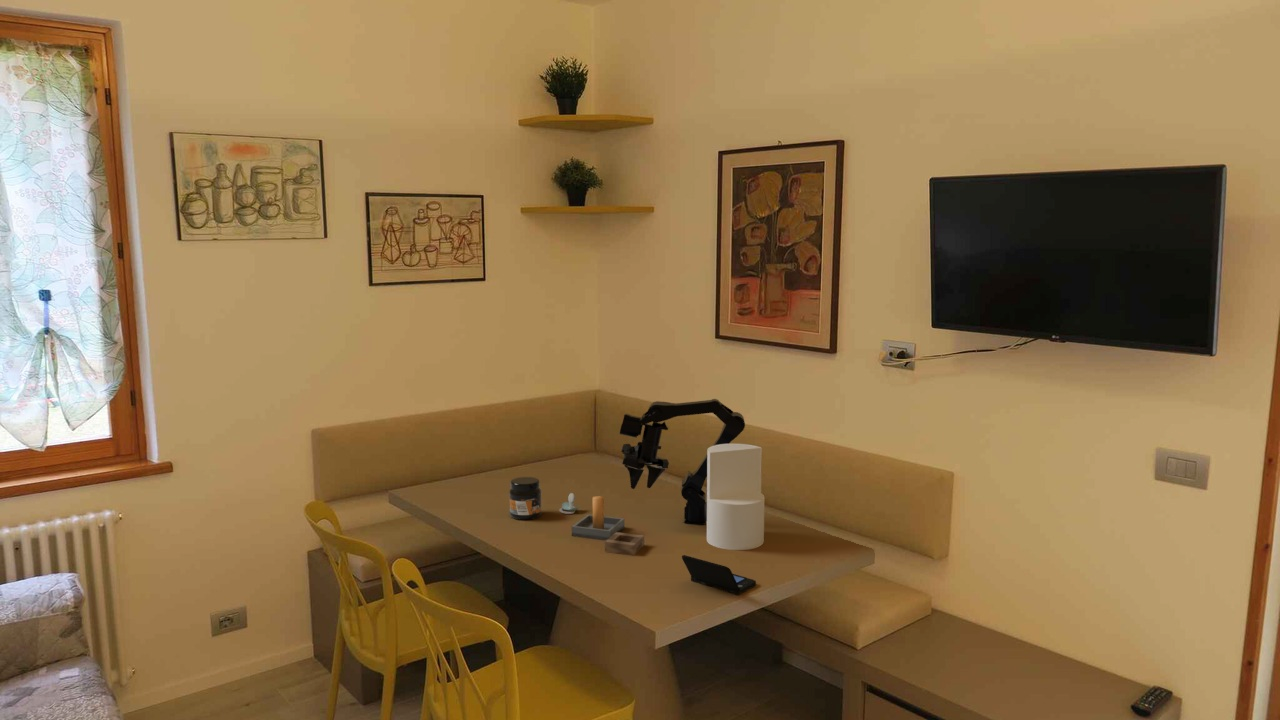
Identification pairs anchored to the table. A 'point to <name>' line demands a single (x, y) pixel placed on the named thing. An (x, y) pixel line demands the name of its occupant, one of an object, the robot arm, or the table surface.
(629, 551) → the socket block
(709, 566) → the game console
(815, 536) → the table surface
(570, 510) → the pacifier
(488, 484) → the table surface
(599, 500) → the pin
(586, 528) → the tray
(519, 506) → the supplement container
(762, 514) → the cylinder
